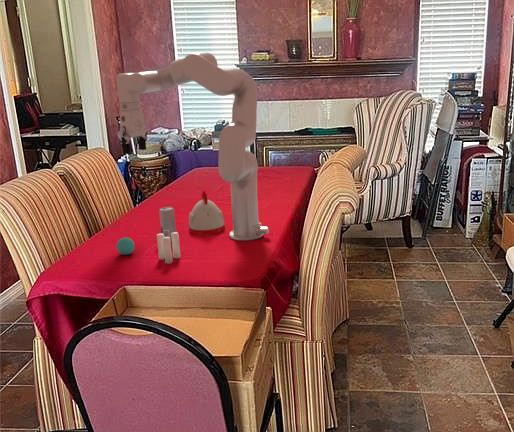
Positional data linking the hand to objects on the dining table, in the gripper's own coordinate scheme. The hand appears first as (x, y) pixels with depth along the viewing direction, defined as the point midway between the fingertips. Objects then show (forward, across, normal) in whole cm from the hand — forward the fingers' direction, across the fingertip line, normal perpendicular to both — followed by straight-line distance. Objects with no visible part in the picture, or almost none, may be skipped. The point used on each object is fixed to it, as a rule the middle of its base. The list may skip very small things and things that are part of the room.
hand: (135, 151), depth 215 cm
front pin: (+31, -28, -28) cm, 50 cm away
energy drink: (+31, -10, -19) cm, 38 cm away
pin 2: (+31, -25, -32) cm, 51 cm away
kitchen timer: (+31, +6, -26) cm, 41 cm away
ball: (+28, -28, -14) cm, 42 cm away
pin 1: (+31, -30, -32) cm, 54 cm away
